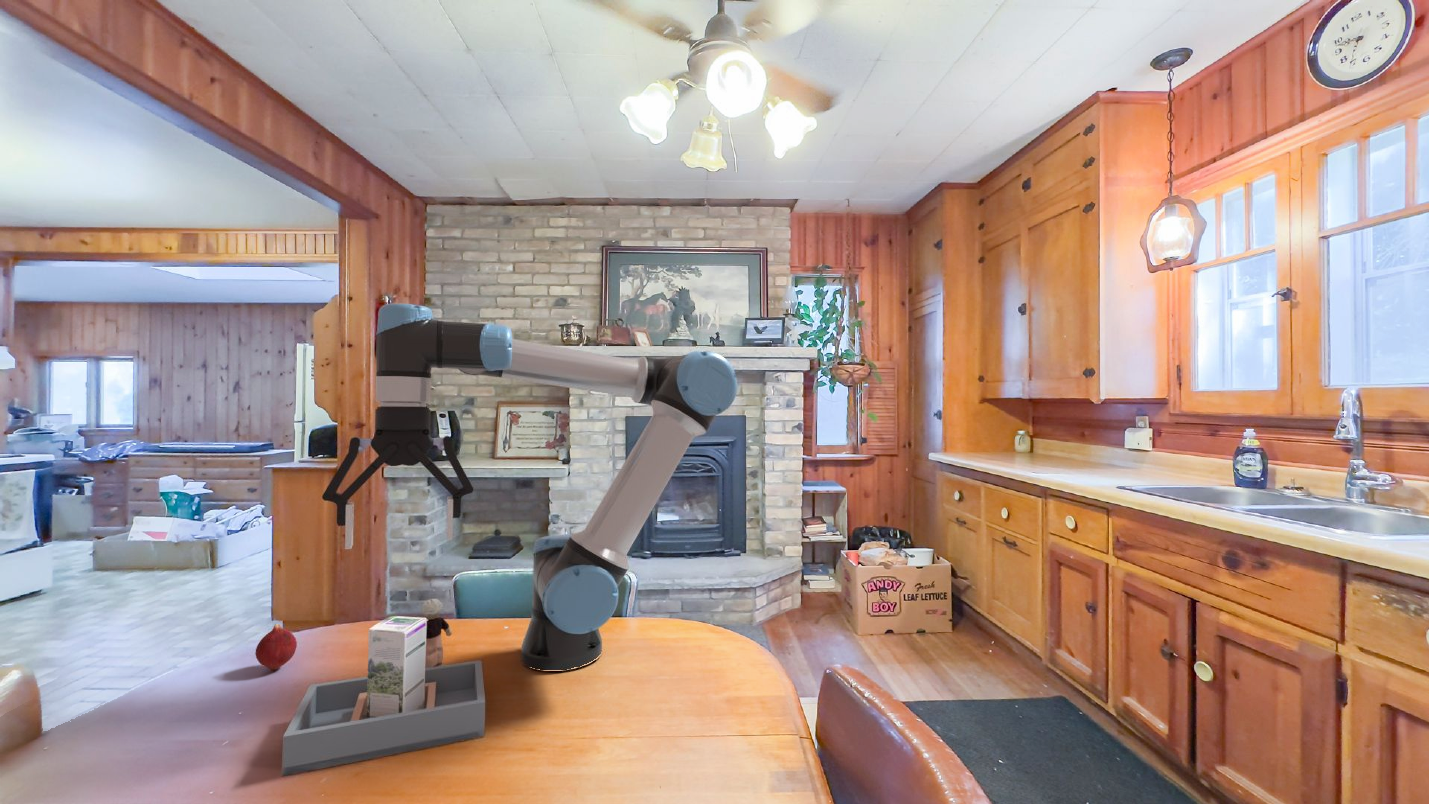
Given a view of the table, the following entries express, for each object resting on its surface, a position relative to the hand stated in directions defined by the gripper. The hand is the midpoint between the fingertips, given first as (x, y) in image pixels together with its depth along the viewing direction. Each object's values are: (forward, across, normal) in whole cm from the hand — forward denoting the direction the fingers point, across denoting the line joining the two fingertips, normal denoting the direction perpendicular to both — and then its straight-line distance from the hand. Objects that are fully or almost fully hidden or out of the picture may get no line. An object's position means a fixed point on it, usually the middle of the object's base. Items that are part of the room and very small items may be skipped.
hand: (401, 543), depth 89 cm
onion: (+26, +20, -26) cm, 42 cm away
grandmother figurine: (+27, -5, -15) cm, 31 cm away
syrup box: (+26, 0, +4) cm, 26 cm away
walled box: (+26, 0, +4) cm, 27 cm away
